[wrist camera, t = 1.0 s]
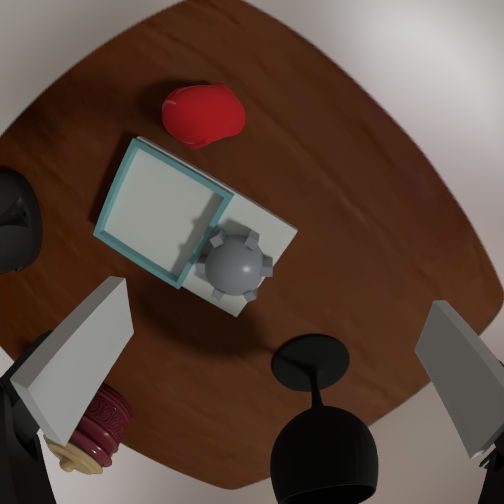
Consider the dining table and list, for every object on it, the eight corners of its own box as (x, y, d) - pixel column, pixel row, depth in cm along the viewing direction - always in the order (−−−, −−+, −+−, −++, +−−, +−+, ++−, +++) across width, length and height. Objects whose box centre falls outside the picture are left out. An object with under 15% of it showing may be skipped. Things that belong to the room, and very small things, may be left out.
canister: (72, 397, 44) (34, 457, 28) (76, 363, 40) (26, 434, 23) (126, 429, 46) (97, 496, 29) (140, 402, 41) (104, 483, 25)
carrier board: (102, 229, 31) (85, 238, 27) (142, 136, 27) (126, 135, 24) (237, 311, 33) (234, 329, 30) (296, 227, 30) (300, 238, 26)
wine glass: (364, 350, 35) (408, 479, 16) (320, 397, 38) (334, 517, 19) (300, 321, 33) (317, 474, 15) (258, 375, 37) (247, 509, 18)
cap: (151, 149, 25) (192, 165, 22) (148, 88, 21) (192, 92, 18) (211, 131, 30) (254, 143, 27) (213, 79, 26) (259, 85, 23)
